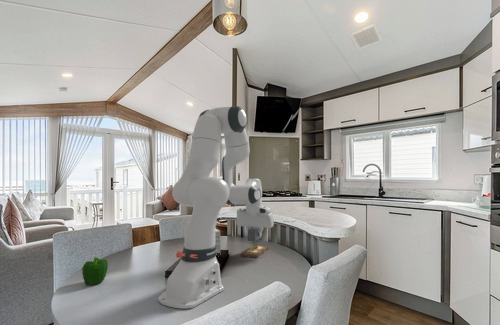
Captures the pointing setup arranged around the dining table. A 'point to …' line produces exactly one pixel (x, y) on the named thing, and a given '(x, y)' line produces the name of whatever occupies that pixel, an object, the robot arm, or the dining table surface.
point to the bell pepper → (94, 271)
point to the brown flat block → (254, 250)
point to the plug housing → (253, 234)
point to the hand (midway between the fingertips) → (254, 235)
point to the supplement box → (217, 240)
